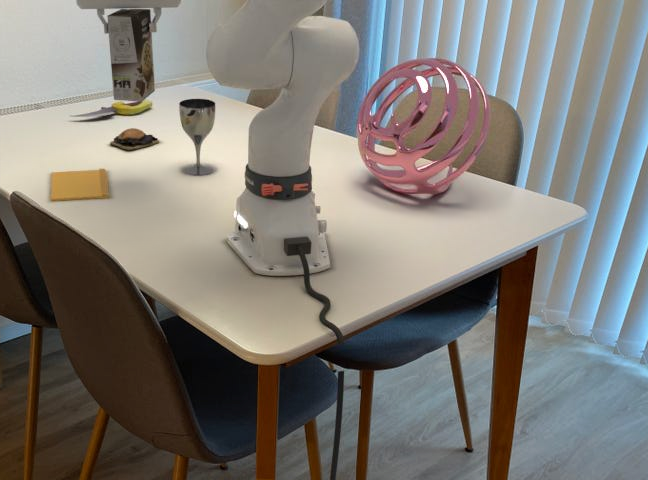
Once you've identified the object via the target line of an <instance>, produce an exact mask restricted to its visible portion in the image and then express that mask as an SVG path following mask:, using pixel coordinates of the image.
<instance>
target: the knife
mask: <svg viewBox="0 0 648 480" xmlns="http://www.w3.org/2000/svg"><path fill="white" fill-rule="evenodd" d="M110 105H111V106H109V107H107V106H106V107H105V106H101V108H100V109H99V110H96V111H92V112H91V111H90V112H86V113H81V114H76V115H70V117H71V118H95V117H103V116H110V115H113V114H118V115H123V116H129V115H132V114H139V113H142V112H143V111H145V110H147V109H150V108H152V107H153V101H152V100H149V99H145V100H143V101H142V102H137V101H132V102H128V103H125V102H124V101H123V100H120V101H116V102H113V103H112V104H110Z"/></svg>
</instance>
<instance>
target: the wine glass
mask: <svg viewBox="0 0 648 480" xmlns="http://www.w3.org/2000/svg"><path fill="white" fill-rule="evenodd" d="M178 107H179V108H178V109H179V110H178V111H179V119H180V125H181V128H182V130H183V131H184V133H185V134H186V135H187V136H188V138H190V140H191V141H192V143H193V145H194V149H195V156H196V163H194V164H189V165H185V166H184V167H183V168H182V171H183V173H185V174H187V175H191V176H206V175H210V174H212V173H213V172H215V170H214V167H213V166H211V165H208V164H203V163H202V164H201V148H202V145H203V143H204V140H206V138H207V137H208V136H209V134H211V132H212V131H213V128H214V124H215V119H216V102H215V101H213V100H211V99H206V98H188V99H184V100H181V101H180V102H179V103H178Z"/></svg>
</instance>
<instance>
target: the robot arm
mask: <svg viewBox="0 0 648 480" xmlns="http://www.w3.org/2000/svg"><path fill="white" fill-rule="evenodd" d="M75 1H76V2H75V3H76V5H77V7H78V8H79V9H81V10H96V15H97V17H98V18H99V20H100V22H101V24H102V25H103V33H104V34H105V35H106V34H107V35H109V31H108V21H107V20H106V19H105V17H104V15H106V13H105V10H110V9H111V10H113V9H114V10H117V9H118V10H120V9H153V13H154V16H153V18H152V20H151V22H148V26H149V32H152V33H157V32H158V31H157V27H158V26H157V24H158V22H159V20H160V18H161V16H162V9H164V8H165V9H167V8H178V7H179V6H180V4H181V2H182V0H75ZM327 2H328V0H246V1H245V2H244V3H243V4H242V5H241V6H240V7H239V9H238V10H236V11H235V12H234V13H233V14H232V15H231V16H229V17H228V18H227V19H225V20H223V21H222V22H220V23H218V24H217V25H216V26H215V27H214V29H213V30H212V31H211V33H210V36H209V37H208V40H207V44H206V50H205V58H206V63H207V64H206V65H207V68H208V70H209V72H210V74H211V76H212V78H213V79H214V80H215V81H216V83H218V85H220V86H223V87H226V88H227V87H228V88H233V89H239V90H244V91H245V90H246V91H249V90H250V91H252V90H254V91H255V90H270V89H273V90H274V89H281V91H280V93H279V95H278V96H277V97H276V99H275V100H274V101H273V102H272V103H271V104H269V105H268V106H267V107H265V108H263V109H261V110H260V111H259V112H257V113H256V114H255V116H253V118H252V119H251V122H250V123H249V126H248V143H247V144H248V146H247V147H248V148H247V163H246V165H245V171H244V185H245V188H244V190H243V191H242V193H241V194H240V195H239V196H238V197H237V198H236V207H235V211H234V213H233V216H234V218H235V225H234V232H231V233H229V234H228V235H226V243H227V245H229V247H230V248H231V249H232V250H233V251H234V253H235V254H236V255H238V257H239V258H240V260H242V261H243V262H244V263H245V264H246V265H247V267H248V268H249V269H250V270H251V271H252V272H253V273H254V274H258V275H261V276H262V275H263V276H271V277H289V276H301V275H303V283H304V284H303V285H304V287H305V290H306V292H307V293H308V294H309V295H310V296H311V297H313V298H315V299H317V300H319V301H322V302H323V303H324V306H323V307H322V309H321V310H320V312H319V315H318V319H319V322H320V323H321V325H323V326H324V327H326V328H327V329H329V330H330V331H332V332H333V333H334V336H335V337H336V340H337V344H338V345H339V346H345V345H346V343H345V339H344V335H343V333H342V331H341V329H340V328H339V327H338V326H337V325H335V324H334V323H333V322H331V321H329V320H327V318H326V315H327V313H328V312H329V311H330V308H331V305H332V304H331V300H330V298H328V296H326V295H324V294H322V293H319V292H317V291H315V290H314V289H313V288H312V285H311V276H310V275H311V274H316V273H320V272H323V271H326V270H329V269H330V268H331V260H330V255H329V249H328V246H327V241H326V236H325V233H326V232H327V220H325V219H318V214H321V209H322V208H321V206H320V205H316V200H315V199H316V193H315V192H314V191H313V174H312V173H313V172H312V166H311V165H310V161H311V152H312V151H311V150H312V142H313V136H314V135H313V134H314V128H315V125H316V122H317V118H318V115H319V113H320V111H321V109H322V108H323V106H324V104H325V102H326V100H328V98H329V97H330V96H331V94H332V93H333V92H334V91H335V90H336V89H337V88H338V87H339V86H340V85H341V84H343V82H345V81H347V80H348V79H349V78H350V76H352V74H353V72H354V70H355V69H356V68H357V67H356V66H357V64H358V61H359V57H360V42H359V38H358V34H357V33H356V30H355V29H354V27H353V26H352V24H350V22H349V21H348V20H344V19H341V18H340V19H339V18H335V17H329V16H323V15H314V14H315V13H316V12H317V11H319V10H320V9H321V8H322V7H324V6H325V5H326V3H327ZM336 386H337V387H336V388H337V390H336V408H335V409H336V411H335V424H334V435H333V444H332V445H333V447H332V456H331V457H332V458H331V465H330V474H329V480H336V479H337V473H338V472H337V471H338V461H339V455H340V454H339V453H340V445H341V444H340V443H341V433H342V423H343V421H342V420H343V411H344V410H343V409H344V390H345V389H344V387H345V370H338V371H337V385H336Z"/></svg>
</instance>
